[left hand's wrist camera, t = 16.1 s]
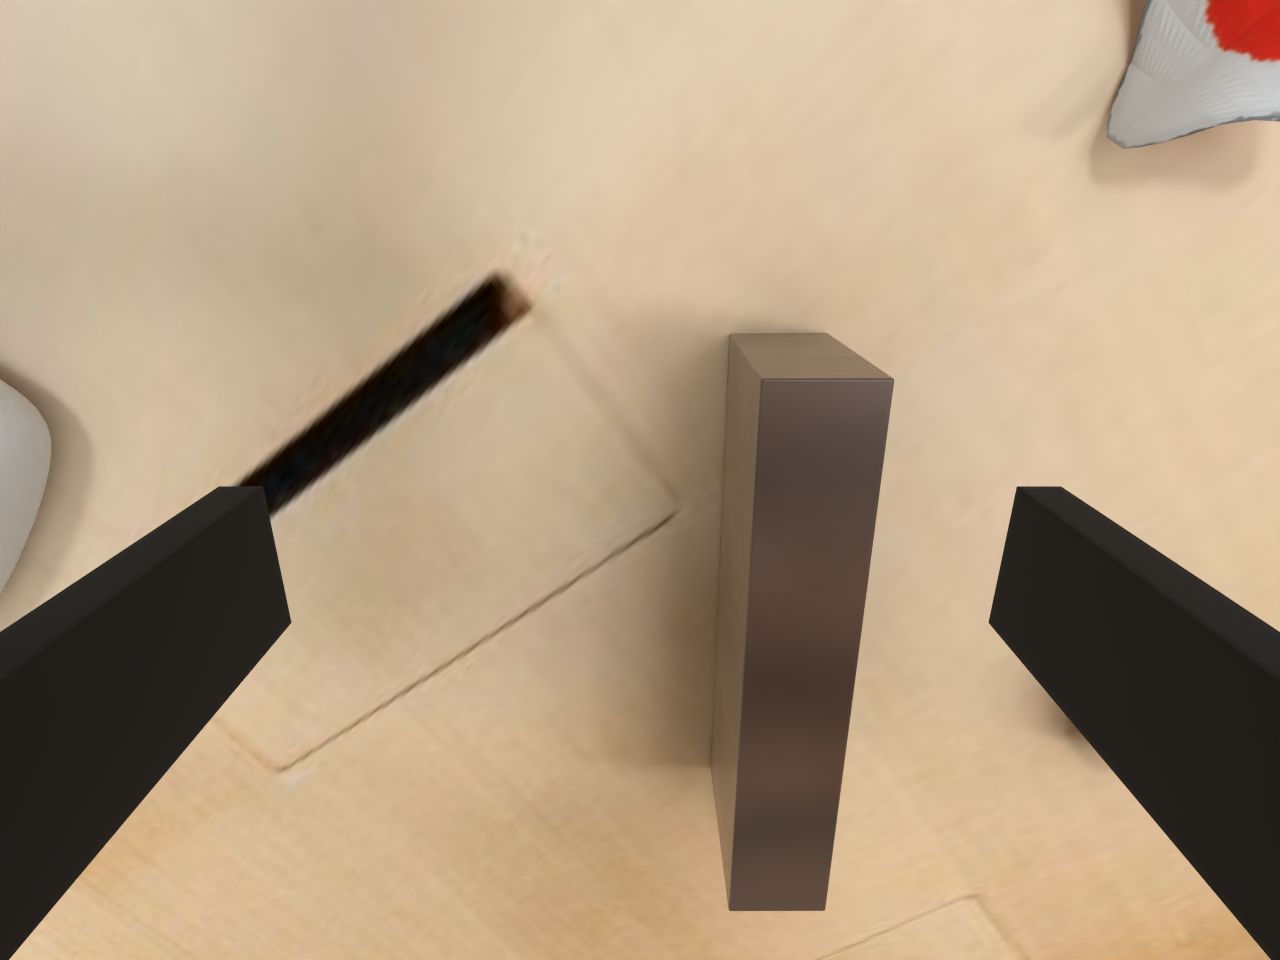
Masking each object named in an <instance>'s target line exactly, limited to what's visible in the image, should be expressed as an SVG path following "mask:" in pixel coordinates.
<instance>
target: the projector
mask: <svg viewBox="0 0 1280 960" xmlns="http://www.w3.org/2000/svg"><path fill="white" fill-rule="evenodd" d="M50 462H51V437H50V432H49V429H48V426H47V424H46V421H45V420H44V418H43V417H42V415H41V414H40V412H39V411H38V409H37V408H36V407H35V406H34V405H33V404H32V403H31V402H30V401H29V400H28V399H27V398H26V397H24V396H23V395H22V394H21V393H19V392H18V391H17V390H15V389H14V388H12V387H11V386H10V385H8V384H7V383H5V382H4V381H2V380H1V379H0V594H1V592H2V590H3V589H4V587H5V585H6V583H7V581H8V579H9V578H10V576H11V574H12V572H13V570H14V568H15V566H16V564H17V562H18V559H19V557H20V555H21V553H22V551H23V549H24V546H25V544H26V542H27V539H28V537H29V534H30V532H31V529H32V527H33V524H34V522H35V519H36V516H37V513H38V510H39V507H40V504H41V501H42V498H43V494H44V490H45V487H46V483H47V479H48V473H49V467H50Z"/></svg>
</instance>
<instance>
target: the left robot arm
mask: <svg viewBox="0 0 1280 960" xmlns="http://www.w3.org/2000/svg"><path fill="white" fill-rule="evenodd" d="M290 624H291V619H290V614H289V609H288V604H287V600H286V595H285V590H284V585H283V580H282V575H281V571H280V566H279V561H278V556H277V551H276V547H275V542H274V537H273V532H272V527H271V523H270V518H269V513H268V508H267V503H266V499H265V494H264V489H263V487H218V488H216V489H215V490H213V491H212V492H210V493H209V494H207V495H206V496H204V497H203V498H201V499H200V500H198V501H197V502H195V503H194V504H192V505H191V506H189V507H188V508H186V509H185V510H183V511H182V512H180V513H179V514H177V515H176V516H174V517H173V518H171V519H170V520H168V521H167V522H165V523H164V524H162V525H161V526H159V527H158V528H156V529H155V530H153V531H152V532H150V533H149V534H147V535H145V536H144V537H142V538H141V539H139V540H138V541H136V542H135V543H133V544H132V545H130V546H129V547H127V548H126V549H124V550H123V551H121V552H120V553H118V554H117V555H115V556H114V557H112V558H111V559H109V560H108V561H106V562H105V563H103V564H102V565H100V566H99V567H97V568H96V569H94V570H93V571H91V572H90V573H88V574H87V575H85V576H84V577H82V578H81V579H79V580H78V581H76V582H75V583H73V584H72V585H70V586H69V587H67V588H66V589H64V590H63V591H61V592H60V593H58V594H57V595H55V596H54V597H52V598H51V599H49V600H48V601H46V602H45V603H43V604H42V605H40V606H39V607H37V608H36V609H34V610H33V611H31V612H30V613H28V614H27V615H25V616H24V617H22V618H21V619H19V620H18V621H16V622H15V623H13V624H12V625H10V626H9V627H7V628H6V629H4V630H3V631H1V632H0V960H9V959H10V958H11V957H12V955H13V954H14V953H15V952H16V951H17V949H18V948H19V947H20V946H21V945H22V943H23V942H24V941H25V940H26V939H27V937H28V936H29V935H30V934H31V933H32V932H33V930H34V929H35V928H36V927H37V926H38V924H39V923H40V922H41V921H42V920H43V918H44V917H45V916H46V915H47V914H48V912H49V911H50V910H51V909H52V908H53V906H54V905H55V904H56V903H57V902H58V901H59V899H60V898H61V897H62V896H63V895H64V893H65V892H66V891H67V890H68V889H69V887H70V886H71V885H72V884H73V883H74V881H75V880H76V879H77V878H78V877H79V875H80V874H81V873H82V872H83V871H84V869H85V868H86V867H87V866H88V865H89V864H90V862H91V861H92V860H93V859H94V858H95V856H96V855H97V854H98V853H99V852H100V850H101V849H102V848H103V847H104V846H105V844H106V843H107V842H108V841H109V840H110V838H111V837H112V836H113V835H114V834H115V832H116V831H117V830H118V829H119V828H120V827H121V825H122V824H123V823H124V822H125V821H126V819H127V818H128V817H129V816H130V815H131V813H132V812H133V811H134V810H135V809H136V807H137V806H138V805H139V804H140V803H141V801H142V800H143V799H144V798H145V797H146V795H147V794H148V793H149V792H150V791H151V790H152V788H153V787H154V786H155V785H156V784H157V782H158V781H159V780H160V779H161V778H162V776H163V775H164V774H165V773H166V772H167V770H168V769H169V768H170V767H171V766H172V764H173V763H174V762H175V761H176V760H177V759H178V757H179V756H180V755H181V754H182V753H183V751H184V750H185V749H186V748H187V747H188V745H189V744H190V743H191V742H192V741H193V739H194V738H195V737H196V736H197V735H198V733H199V732H200V731H201V730H202V729H203V727H204V726H205V725H206V724H207V723H208V722H209V720H210V719H211V718H212V717H213V716H214V714H215V713H216V712H217V711H218V710H219V708H220V707H221V706H222V705H223V704H224V702H225V701H226V700H227V699H228V698H229V696H230V695H231V694H232V693H233V692H234V690H235V689H236V688H237V687H238V686H239V685H240V683H241V682H242V681H243V680H244V679H245V677H246V676H247V675H248V674H249V673H250V671H251V670H252V669H253V668H254V667H255V665H256V664H257V663H258V662H259V661H260V659H261V658H262V657H263V656H264V655H265V654H266V652H267V651H268V650H269V649H270V648H271V646H272V645H273V644H274V643H275V642H276V640H277V639H278V638H279V637H280V636H281V634H282V633H283V632H284V631H285V630H286V628H287V627H288V626H289V625H290ZM989 624H990V625H991V626H992V627H993V628H994V630H995V631H996V632H997V633H998V634H999V636H1000V637H1001V638H1002V639H1003V640H1004V642H1005V643H1006V644H1007V645H1008V646H1009V648H1010V649H1011V650H1012V651H1013V652H1014V654H1015V655H1016V656H1017V657H1018V658H1019V659H1020V661H1021V662H1022V663H1023V664H1024V665H1025V667H1026V668H1027V669H1028V670H1029V671H1030V673H1031V674H1032V675H1033V676H1034V677H1035V679H1036V680H1037V681H1038V682H1039V683H1040V685H1041V686H1042V687H1043V688H1044V689H1045V690H1046V692H1047V693H1048V694H1049V695H1050V696H1051V698H1052V699H1053V700H1054V701H1055V702H1056V704H1057V705H1058V706H1059V707H1060V708H1061V710H1062V711H1063V712H1064V713H1065V714H1066V716H1067V717H1068V718H1069V719H1070V720H1071V722H1072V723H1073V724H1074V725H1075V726H1076V727H1077V729H1078V730H1079V731H1080V732H1081V733H1082V735H1083V736H1084V737H1085V738H1086V739H1087V741H1088V742H1089V743H1090V744H1091V745H1092V747H1093V748H1094V749H1095V750H1096V751H1097V753H1098V754H1099V755H1100V756H1101V757H1102V759H1103V760H1104V761H1105V762H1106V763H1107V764H1108V766H1109V767H1110V768H1111V769H1112V770H1113V772H1114V773H1115V774H1116V775H1117V776H1118V778H1119V779H1120V780H1121V781H1122V782H1123V784H1124V785H1125V786H1126V787H1127V788H1128V790H1129V791H1130V792H1131V793H1132V794H1133V795H1134V797H1135V798H1136V799H1137V800H1138V801H1139V803H1140V804H1141V805H1142V806H1143V807H1144V809H1145V810H1146V811H1147V812H1148V813H1149V815H1150V816H1151V817H1152V818H1153V819H1154V821H1155V822H1156V823H1157V824H1158V825H1159V827H1160V828H1161V829H1162V830H1163V831H1164V832H1165V834H1166V835H1167V836H1168V837H1169V838H1170V840H1171V841H1172V842H1173V843H1174V844H1175V846H1176V847H1177V848H1178V849H1179V850H1180V852H1181V853H1182V854H1183V855H1184V856H1185V858H1186V859H1187V860H1188V861H1189V862H1190V864H1191V865H1192V866H1193V867H1194V868H1195V869H1196V871H1197V872H1198V873H1199V874H1200V875H1201V877H1202V878H1203V879H1204V880H1205V881H1206V883H1207V884H1208V885H1209V886H1210V887H1211V889H1212V890H1213V891H1214V892H1215V893H1216V895H1217V896H1218V897H1219V898H1220V899H1221V901H1222V902H1223V903H1224V904H1225V905H1226V906H1227V908H1228V909H1229V910H1230V911H1231V912H1232V914H1233V915H1234V916H1235V917H1236V918H1237V920H1238V921H1239V922H1240V923H1241V924H1242V926H1243V927H1244V928H1245V929H1246V930H1247V932H1248V933H1249V934H1250V935H1251V936H1252V937H1253V939H1254V940H1255V941H1256V942H1257V943H1258V945H1259V946H1260V947H1261V948H1262V949H1263V951H1264V952H1265V953H1266V954H1267V955H1268V957H1269V958H1270V959H1271V960H1280V632H1279V631H1277V630H1276V629H1274V628H1273V627H1271V626H1270V625H1268V624H1267V623H1265V622H1264V621H1262V620H1261V619H1259V618H1258V617H1256V616H1255V615H1253V614H1252V613H1250V612H1249V611H1247V610H1246V609H1244V608H1243V607H1241V606H1240V605H1238V604H1237V603H1235V602H1234V601H1232V600H1231V599H1229V598H1228V597H1226V596H1225V595H1223V594H1222V593H1220V592H1219V591H1217V590H1216V589H1214V588H1213V587H1211V586H1210V585H1208V584H1207V583H1205V582H1204V581H1202V580H1201V579H1199V578H1198V577H1196V576H1195V575H1193V574H1192V573H1190V572H1189V571H1187V570H1186V569H1184V568H1183V567H1181V566H1180V565H1178V564H1177V563H1175V562H1174V561H1172V560H1171V559H1169V558H1168V557H1166V556H1165V555H1163V554H1162V553H1160V552H1159V551H1157V550H1156V549H1154V548H1153V547H1151V546H1150V545H1148V544H1147V543H1145V542H1144V541H1142V540H1141V539H1139V538H1138V537H1136V536H1135V535H1133V534H1131V533H1130V532H1128V531H1127V530H1125V529H1124V528H1122V527H1121V526H1119V525H1118V524H1116V523H1115V522H1113V521H1112V520H1110V519H1109V518H1107V517H1106V516H1104V515H1103V514H1101V513H1100V512H1098V511H1097V510H1095V509H1094V508H1092V507H1091V506H1089V505H1088V504H1086V503H1085V502H1083V501H1082V500H1080V499H1079V498H1077V497H1076V496H1074V495H1073V494H1071V493H1070V492H1068V491H1067V490H1065V489H1064V488H1062V487H1017V489H1016V494H1015V499H1014V503H1013V508H1012V513H1011V518H1010V523H1009V527H1008V532H1007V537H1006V542H1005V547H1004V551H1003V556H1002V561H1001V566H1000V571H999V575H998V580H997V585H996V590H995V595H994V600H993V604H992V609H991V614H990V619H989Z"/></svg>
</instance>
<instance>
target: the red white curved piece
mask: <svg viewBox="0 0 1280 960" xmlns="http://www.w3.org/2000/svg"><path fill="white" fill-rule="evenodd" d="M1250 120H1265V121H1280V0H1146V2H1145V6H1144V10H1143V14H1142V18H1141V22H1140V26H1139V30H1138V34H1137V38H1136V41H1135V45H1134V49H1133V53H1132V57H1131V61H1130V64H1129V66H1128V68H1127V70H1126V73H1125V75H1124V77H1123V79H1122V81H1121V84H1120V86H1119V88H1118V91H1117V94H1116V97H1115V100H1114V102H1113V105H1112V108H1111V112H1110V116H1109V120H1108V124H1107V138H1109V139H1110V140H1112V141H1113V142H1114V143H1116V144H1117V145H1119V146H1120V147H1122V148H1135V147H1143V146H1147V145H1152V144H1157V143H1162V142H1166V141H1169V140H1173V139H1176V138H1180V137H1184V136H1187V135H1191V134H1194V133H1197V132H1200V131H1203V130H1206V129H1209V128H1212V127H1215V126H1218V125H1221V124H1228V123H1235V122H1242V121H1250Z"/></svg>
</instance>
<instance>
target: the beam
mask: <svg viewBox="0 0 1280 960" xmlns="http://www.w3.org/2000/svg"><path fill="white" fill-rule="evenodd" d="M893 384H894V379H893V378H892V377H890V376H889V375H887V374H886V373H884V372H883V371H882V370H880V369H879V368H877V367H876V366H874V365H873V364H871V363H870V362H868V361H867V360H865V359H864V358H862V357H861V356H860V355H858V354H857V353H855V352H854V351H852V350H851V349H849V348H848V347H846V346H845V345H843V344H842V343H840V342H839V341H838V340H836V339H835V338H833V337H832V336H830V335H829V334H730V336H729V359H728V382H727V406H726V429H725V452H724V475H723V498H722V521H721V545H720V568H719V591H718V614H717V637H716V660H715V683H714V707H713V730H712V753H711V773H712V781H713V789H714V797H715V805H716V813H717V821H718V829H719V836H720V844H721V852H722V860H723V868H724V876H725V884H726V892H727V900H728V908H729V911H824V910H825V906H826V899H827V891H828V883H829V876H830V868H831V860H832V853H833V845H834V837H835V830H836V822H837V814H838V807H839V799H840V791H841V784H842V776H843V768H844V761H845V753H846V745H847V738H848V730H849V722H850V714H851V707H852V699H853V691H854V684H855V676H856V668H857V661H858V653H859V645H860V638H861V630H862V622H863V615H864V607H865V599H866V592H867V584H868V576H869V569H870V561H871V553H872V546H873V538H874V530H875V523H876V515H877V507H878V500H879V492H880V484H881V476H882V469H883V461H884V453H885V446H886V438H887V430H888V423H889V415H890V407H891V400H892V392H893Z"/></svg>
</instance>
